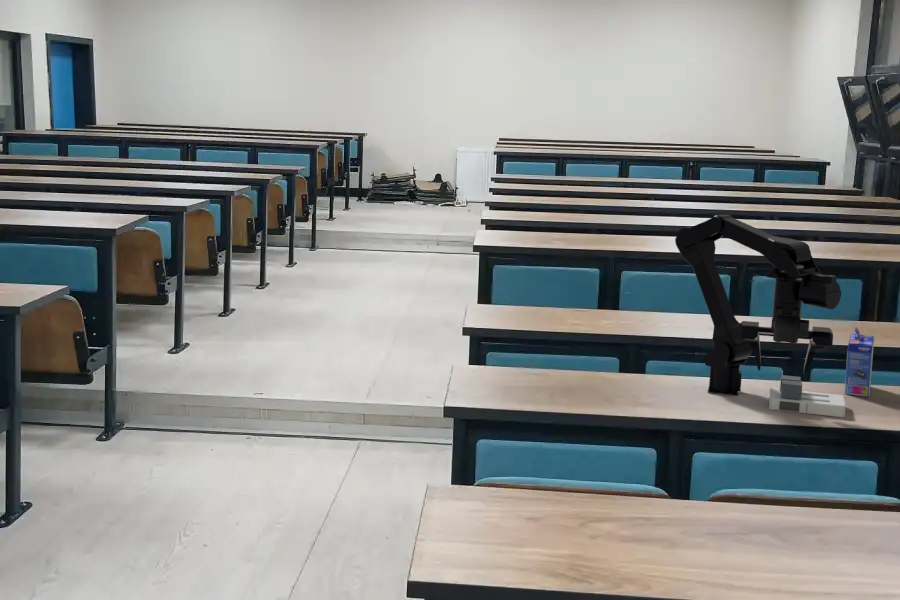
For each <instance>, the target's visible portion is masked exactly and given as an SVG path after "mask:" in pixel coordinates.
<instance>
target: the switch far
mask: <svg viewBox="0 0 900 600" xmlns="http://www.w3.org/2000/svg"><path fill="white" fill-rule="evenodd" d="M782 380H789V381H799V382H802V380H801V376H796V375H795V376H794V375H793V376H792V375H783V374H780V384H779V389H780V392H781V390H782Z"/></svg>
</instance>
